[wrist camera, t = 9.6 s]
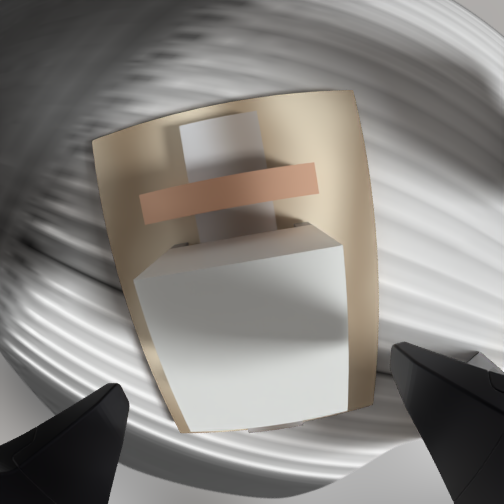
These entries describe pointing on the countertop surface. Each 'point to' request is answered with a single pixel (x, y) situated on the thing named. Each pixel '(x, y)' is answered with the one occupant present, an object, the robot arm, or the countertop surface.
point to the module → (251, 327)
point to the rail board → (246, 201)
